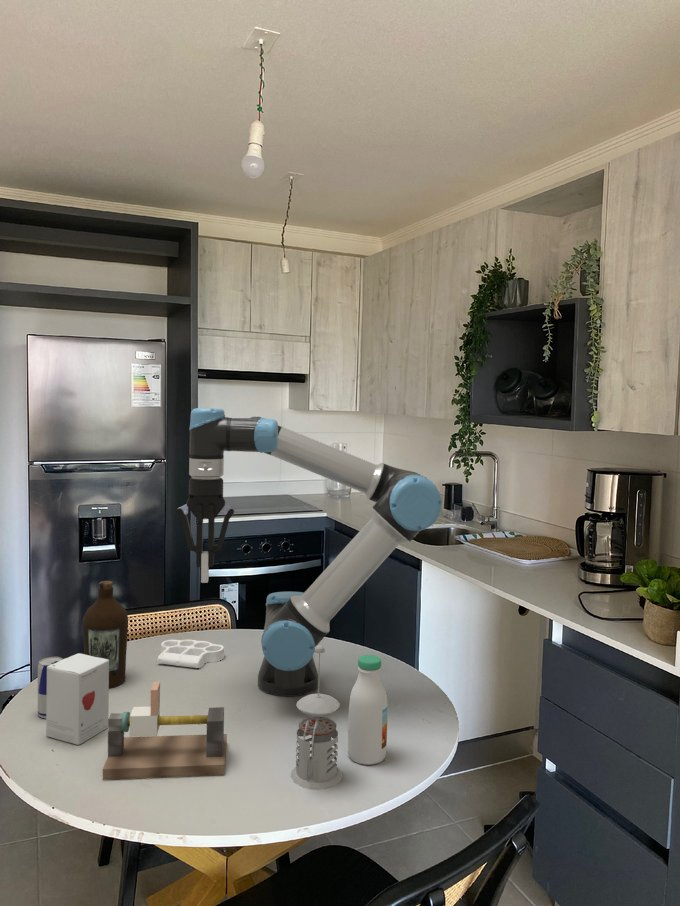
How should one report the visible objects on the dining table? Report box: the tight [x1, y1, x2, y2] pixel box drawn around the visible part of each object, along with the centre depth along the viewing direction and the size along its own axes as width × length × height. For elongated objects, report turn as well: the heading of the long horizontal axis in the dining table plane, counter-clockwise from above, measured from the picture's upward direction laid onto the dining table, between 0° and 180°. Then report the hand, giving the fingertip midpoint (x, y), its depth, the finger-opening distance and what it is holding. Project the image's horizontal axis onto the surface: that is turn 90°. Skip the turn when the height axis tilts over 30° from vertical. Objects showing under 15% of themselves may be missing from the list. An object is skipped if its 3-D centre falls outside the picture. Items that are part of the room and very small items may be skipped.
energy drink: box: [37, 656, 64, 720], centre depth 150 cm, size 5×5×12 cm
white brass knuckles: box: [156, 639, 225, 669], centre depth 186 cm, size 3×18×15 cm
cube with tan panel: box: [129, 681, 161, 737], centre depth 131 cm, size 5×4×9 cm
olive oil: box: [82, 580, 129, 689], centre depth 168 cm, size 11×11×25 cm
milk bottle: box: [347, 654, 388, 766], centre depth 135 cm, size 8×8×20 cm
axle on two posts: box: [102, 706, 228, 781], centre depth 132 cm, size 22×12×10 cm, turn 97°
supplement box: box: [45, 652, 110, 746], centre depth 142 cm, size 9×9×15 cm
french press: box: [289, 644, 343, 790], centre depth 127 cm, size 10×12×25 cm
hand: (204, 581), depth 154 cm, fingers closed
